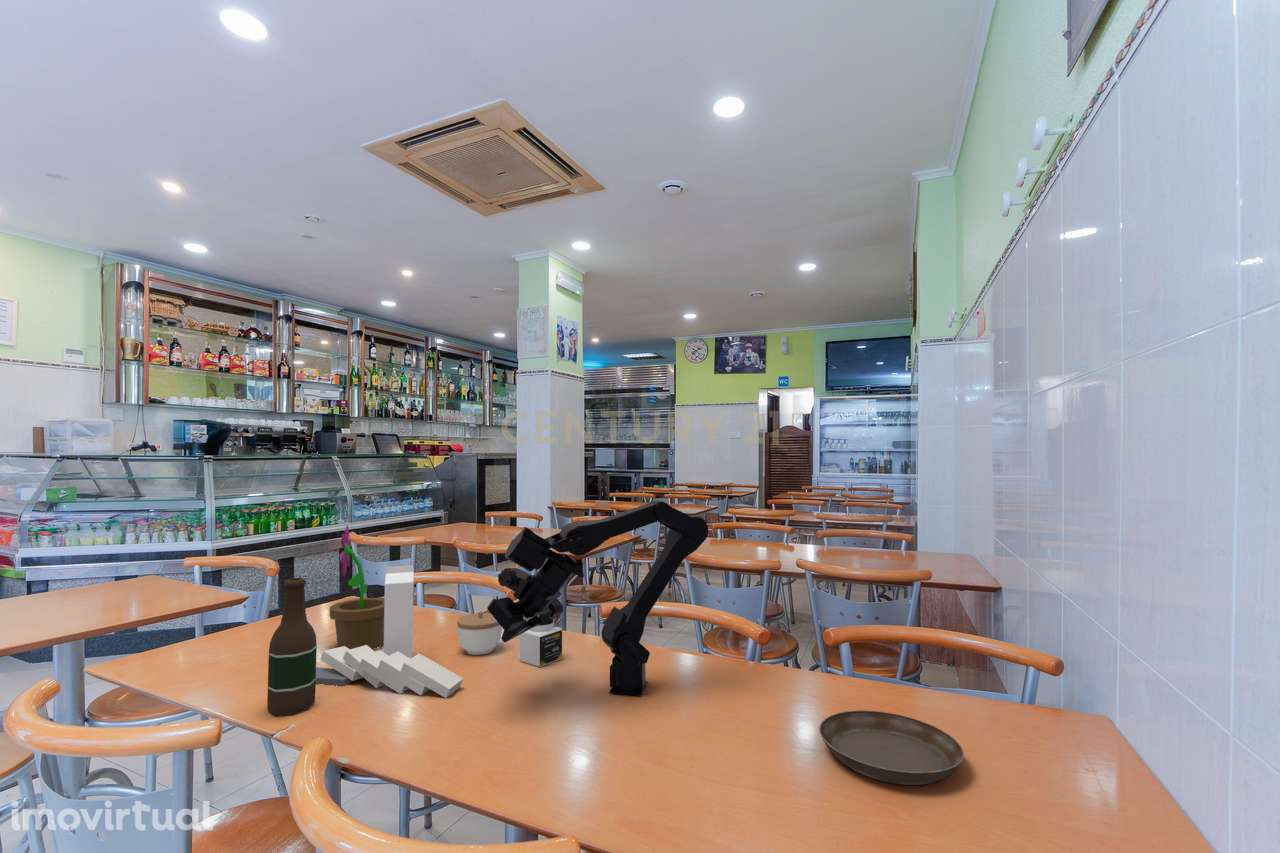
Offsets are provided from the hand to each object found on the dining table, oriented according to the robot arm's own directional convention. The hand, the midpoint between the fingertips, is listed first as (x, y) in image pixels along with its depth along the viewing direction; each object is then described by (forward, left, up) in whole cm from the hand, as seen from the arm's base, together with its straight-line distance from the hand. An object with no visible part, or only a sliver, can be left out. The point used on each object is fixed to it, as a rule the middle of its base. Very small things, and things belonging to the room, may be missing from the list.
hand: (503, 640), depth 115 cm
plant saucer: (-70, +9, -11) cm, 71 cm away
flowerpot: (+48, -20, -11) cm, 53 cm away
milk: (+31, -11, -11) cm, 35 cm away
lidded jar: (+17, -23, -11) cm, 31 cm away
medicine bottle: (0, -20, -11) cm, 23 cm away
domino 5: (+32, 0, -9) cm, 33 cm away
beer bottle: (+36, +14, -11) cm, 40 cm away
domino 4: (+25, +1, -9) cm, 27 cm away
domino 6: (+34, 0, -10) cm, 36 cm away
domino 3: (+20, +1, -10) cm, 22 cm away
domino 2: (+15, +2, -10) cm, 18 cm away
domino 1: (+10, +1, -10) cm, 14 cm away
